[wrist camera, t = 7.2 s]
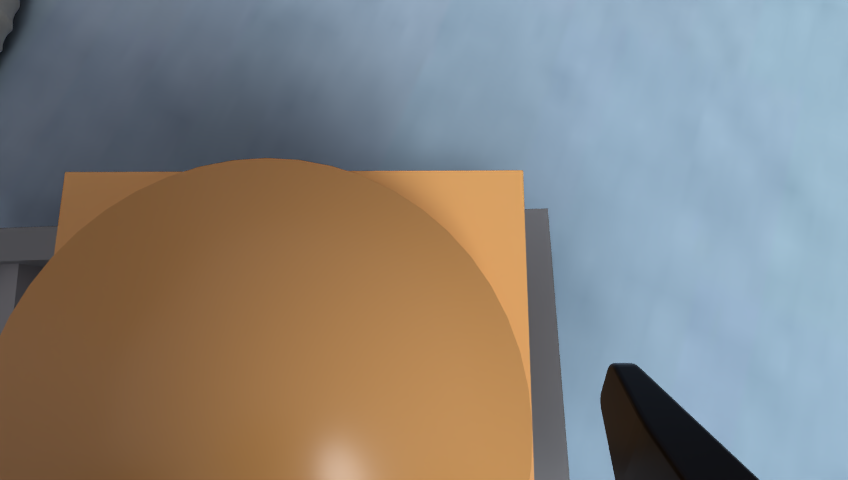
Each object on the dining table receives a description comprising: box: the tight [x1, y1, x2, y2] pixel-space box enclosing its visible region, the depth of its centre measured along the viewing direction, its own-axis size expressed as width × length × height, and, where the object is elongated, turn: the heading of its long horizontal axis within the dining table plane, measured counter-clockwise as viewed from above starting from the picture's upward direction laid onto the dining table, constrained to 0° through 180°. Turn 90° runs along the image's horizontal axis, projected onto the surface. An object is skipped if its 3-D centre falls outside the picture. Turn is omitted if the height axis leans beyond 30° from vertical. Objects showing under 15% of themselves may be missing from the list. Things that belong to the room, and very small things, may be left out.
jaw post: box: [0, 158, 534, 480], centre depth 10 cm, size 4×4×13 cm
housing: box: [0, 209, 570, 480], centre depth 16 cm, size 14×18×4 cm
